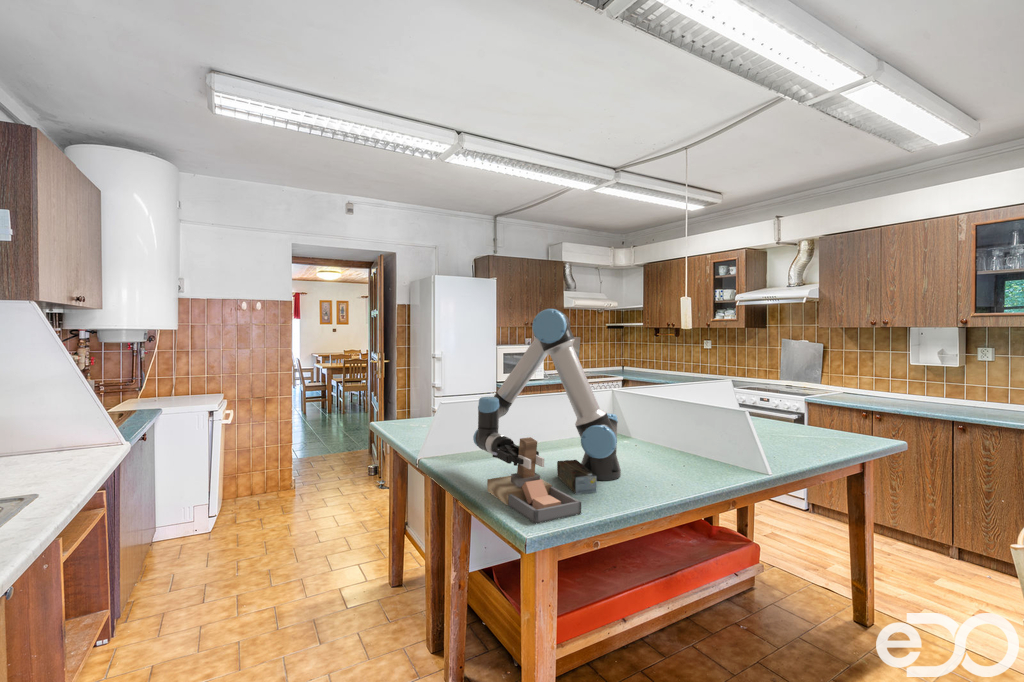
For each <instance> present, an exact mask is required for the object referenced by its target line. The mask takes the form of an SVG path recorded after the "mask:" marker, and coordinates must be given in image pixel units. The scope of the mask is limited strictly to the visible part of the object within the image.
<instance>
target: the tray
mask: <svg viewBox="0 0 1024 682" xmlns="http://www.w3.org/2000/svg"><path fill="white" fill-rule="evenodd" d="M549 495H550V496H552V497H554V498H556V499H557V500H559V501H561V505H557V506H552V507H547V508H542V509H537V510H536V509H535V508H533V504H530V505H528V502H527V501H522V500H520V499H519V498H517V497H516V496H514V495H513V494H509V502H508V505H507V506H508V507H510V508H511V509H513V510H514V511H516V513H518V514H520V515H521V516H522V517H524V518H526V519H527V520H528V519H529V521H530V522H531V521H532V522H531V523H533V524H534V523H535V524H534V525H536V523H537V524H541V523H540V522H542V523H546V522H550V521H549V520H551V521H554V520H553V519H556V520H559V519H558V518H560V519H563V518H562V517H565V518H568V517H567V516H569V517H572V516H571V515H574V516H577V515H576V514H578V515H581V514H582V501H580V500H579V499H577V498H576V497H575V498H574V497H573V496H571V495H569V494H568V493H565V492H563V491H562V490H561V489H560V490H559V489H558V488H555V487H554V486H552V487H550V494H549ZM580 513H581V514H580ZM545 521H546V522H545Z"/></svg>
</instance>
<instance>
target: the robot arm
mask: <svg viewBox="0 0 1024 682" xmlns="http://www.w3.org/2000/svg"><path fill="white" fill-rule="evenodd" d="M532 332H533V341H532V343H530V345H529V346H528V347H527V349H526V351H525V352H524V354H523V355H522V356H521V357H520V359H519V360H518V362H517V363H516V365H515V366H514V368H512V371H511V372H510V373H509V374H508V376H507V377H506V378H505V380H504V382H503V383H502V384H501V385H500V386H499V388H498V390H497V391H496V392H495V394H494V396H481V397H479V398H478V405H477V412H478V417H477V418H478V419H477V424H478V425H477V429H476V430H475V432H474V434H473V439H472V440H473V443H474V444H475V446H476V447H478V448H479V449H480V450H482V451H485V452H487V453H489V454H491V455H492V458H496V459H498V460H501V461H502V462H505V463H507V464H512V463H513V466H514V467H515V466H517V467H518V464H520V465H522V466H524V467H526V468H528V469H531V460H530V459H528V458H526V457H524V456H522V455H519V445H517V444H515V442H514V441H513V439H512V438H511V437H510V438H509V437H508V436H505V435H503V434H500V433H499V427H500V425H499V424H500V423H499V422H500V418H502V417H504V416H505V415H507V414H508V412H509V410H510V408H511V406H512V405H513V403H514V402H515V400H516V399H517V398H518V397H519V395H520V394H521V393H522V392H523V389H524V388H525V387H526V385H527V384H528V383H529V381H530V380H531V378H532V377H533V376H534V374H535V373H536V371H537V370H538V369H539V367H540V366H541V365H542V364H543V362H544V360H545V359H546V358H547V356H548V355H549V356H550V358H551V360H552V363H553V366H554V367H555V370H556V372H557V375H558V377H559V379H560V381H561V384H562V386H563V389H564V391H565V393H566V396H567V398H568V400H569V403H570V405H571V407H572V409H573V412H574V414H575V416H576V421H575V423H574V425H575V427H576V429H577V430H576V431H577V433H578V435H579V437H580V445H581V448H582V449H583V451H584V454H583V455H582V456H583V457H582V460H581V462H580V463H581V464H582V465H584V466H585V467H586V468H587V469H588V470H590V471H591V472H592V473H593V474H594V475H596V477H597V481H613V479H614V480H617V478H618V479H619V477H620V478H621V476H622V475H621V474H622V470H621V466H620V462H619V459H618V455H617V448H618V447H617V445H618V444H617V443H618V423H619V420H618V415H617V414H615V413H608V412H607V411H605V410H604V409H601V408H600V405H599V403H598V401H597V399H596V396H595V393H594V392H593V390H592V387H591V384H590V382H589V380H588V378H587V375H586V374H585V371H584V368H583V365H582V364H581V362H580V359H579V357H578V355H577V353H576V352H577V351H576V350H575V348H574V343H575V340H576V339H575V337H574V334H573V332H572V329H571V321H570V319H569V317H568V316H567V314H565V313H564V312H563V311H561V310H558V309H556V308H546V309H544V310H541V311H540V312H538V313H537V314H536V315H535V317H534V318H533V321H532ZM539 453H540V452H539V451H538V450H537V452H536V463H535V466H539V467H540V468H544V467H545V458H544V457H543V456H540V454H539Z"/></svg>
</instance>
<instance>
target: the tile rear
mask: <svg viewBox="0 0 1024 682" xmlns="http://www.w3.org/2000/svg"><path fill="white" fill-rule="evenodd" d="M540 479H541V478H540ZM542 480H543V479H541V480H535V481H529V482H525V483H524V484H523V486H522V489H523V491H524V494H525V497H526V500H527V502H528V505H530V504H533V498H536V497H542V496H547V495H548V493H547V491H546V488H545V486H544V483H543V481H544V480H543V481H542Z"/></svg>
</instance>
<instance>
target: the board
mask: <svg viewBox="0 0 1024 682" xmlns="http://www.w3.org/2000/svg"><path fill="white" fill-rule="evenodd" d="M540 480H541V478H540ZM486 481H487V482H486V483H487V484H486V487H487V488H486V491H488V492H487V493H489V492H490V493H491V495H492V496H493V495H494V497H495V498H496V497H497V499H498V500H499V501H501V502H502V503H504V505H506V506H508V502H509V494H513V495H514V496H516V497H517V498H519V499H520V500H522V501H527V500H526V497H525V494H524V491H523V489H522V487H517V486H516V485H514V484H513V483H512V482H511V475H507V476H499V477H495V478H487V480H486ZM542 481H543V483H544V486H545V488H546V491H547V493H548V495H549V494H550V487H553V486H552V484H551V483H549V482H547V481H545V480H544V479H542ZM490 493H489V494H490Z"/></svg>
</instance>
